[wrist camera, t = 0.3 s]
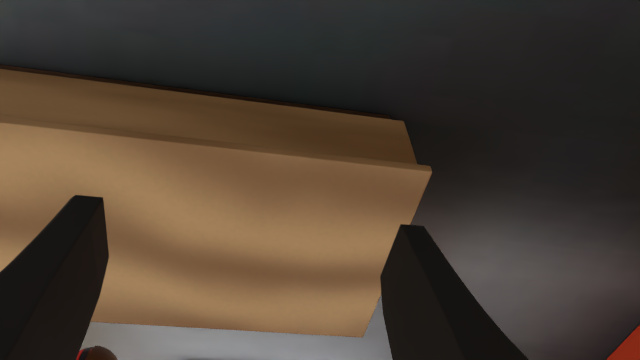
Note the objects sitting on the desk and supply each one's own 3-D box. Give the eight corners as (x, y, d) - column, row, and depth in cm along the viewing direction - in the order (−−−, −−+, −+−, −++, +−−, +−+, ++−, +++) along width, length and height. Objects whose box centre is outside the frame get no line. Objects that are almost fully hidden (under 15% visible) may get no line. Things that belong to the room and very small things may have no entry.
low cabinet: (353, 266, 29) (363, 337, 26) (-112, 229, 26) (-172, 307, 22) (409, 105, 23) (432, 172, 19) (-207, 21, 19) (-314, 87, 16)
